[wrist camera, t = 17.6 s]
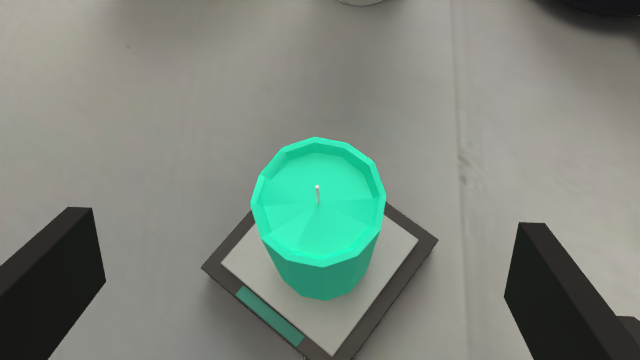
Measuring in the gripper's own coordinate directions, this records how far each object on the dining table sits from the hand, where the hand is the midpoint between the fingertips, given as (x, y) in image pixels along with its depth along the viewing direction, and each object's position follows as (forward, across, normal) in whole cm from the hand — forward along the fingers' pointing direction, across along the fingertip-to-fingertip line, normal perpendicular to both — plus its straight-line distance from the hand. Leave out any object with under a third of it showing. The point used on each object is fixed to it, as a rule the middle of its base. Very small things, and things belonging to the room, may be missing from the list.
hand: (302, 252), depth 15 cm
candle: (+14, 0, -9) cm, 16 cm away
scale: (+16, 0, -11) cm, 19 cm away
